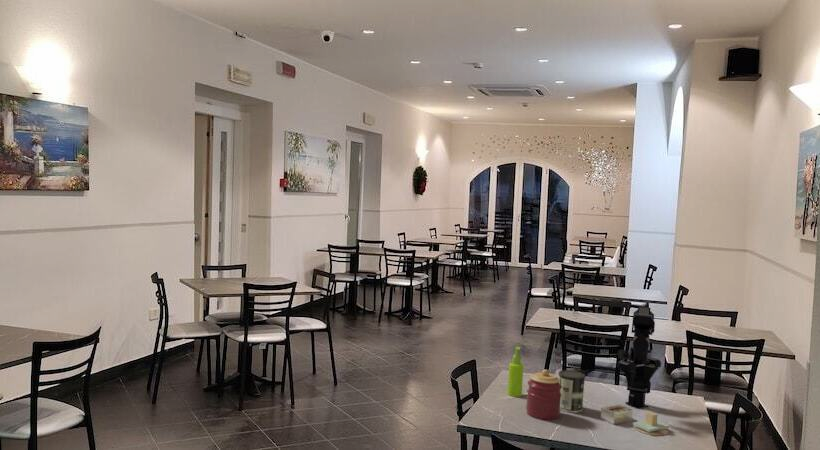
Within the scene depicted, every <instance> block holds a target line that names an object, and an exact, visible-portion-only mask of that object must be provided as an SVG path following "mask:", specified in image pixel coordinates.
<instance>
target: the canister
mask: <svg viewBox="0 0 820 450" xmlns="http://www.w3.org/2000/svg"><path fill="white" fill-rule="evenodd" d="M529 378H530V380H528V381H527V385H528V389H527V390H526V392H527V395H526V396H527V397H526V405H525V409H526V410H525V411H526V414H527V415H529V416H530V417H532V418H535V419H539V420H556V419H558V418H559V416H560V414H561V410H560V399H561V393H560V389H561V388H562V385H561V384H560V383H559V382H560V379H559V376H557V375H555V374H554V373H551V372H550V371H549V370H548V369H543V370H542V371H541V372H539V371H538V372H535V373H533V374H531V375H530V377H529Z"/></svg>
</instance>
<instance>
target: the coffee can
mask: <svg viewBox="0 0 820 450" xmlns="http://www.w3.org/2000/svg"><path fill="white" fill-rule="evenodd" d="M558 378H559V379H560V382H559V383H560V384H561V385H562V388H561V389H560V393H561V399H560V411H562V412H565V413H572V414H576V413H581V412H583V407H584V406H583V405H584V404H583V403H584V391H585V380H586V379H585V378H586V375H585V374H584V373H583V372H579V371H576V370H568V369H567V370H560V371H558Z"/></svg>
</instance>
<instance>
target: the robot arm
mask: <svg viewBox="0 0 820 450" xmlns="http://www.w3.org/2000/svg"><path fill="white" fill-rule="evenodd" d="M655 326H656V325H655V314H654V313H653V312H652V311H651V307H649V306H643V305H640V306H638V307H637V310H635V311H634V312H633V316H632V324H631V333H633V341H632V347H630V348H629V351H626V350H625V349H619V350H618V351H617V357H618V358H619V359H620V360H619V361H618V362H617V368H618V369H619V370H620V371H622V372H623V373H624V375H625V379H626V381H627V384H626V385H627V386H626V391H628V392H629V393H628V399H627V400H628V401H626V402H625V405H628V406H631V407H632V408H636V409H642V408H648V404H647V403H646V394H651V388H652V387H651V386H652V382H651V379H652V377H653V376H654V374H655V373H656V372H657V371H658V370H659V368H661V367H662V362H661V360H660V359H659V358H656V357H652V356H649V354H651V352H652V350H651V349H649V348H650V347H649V346H650V336H653V334H654V333H655Z"/></svg>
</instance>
